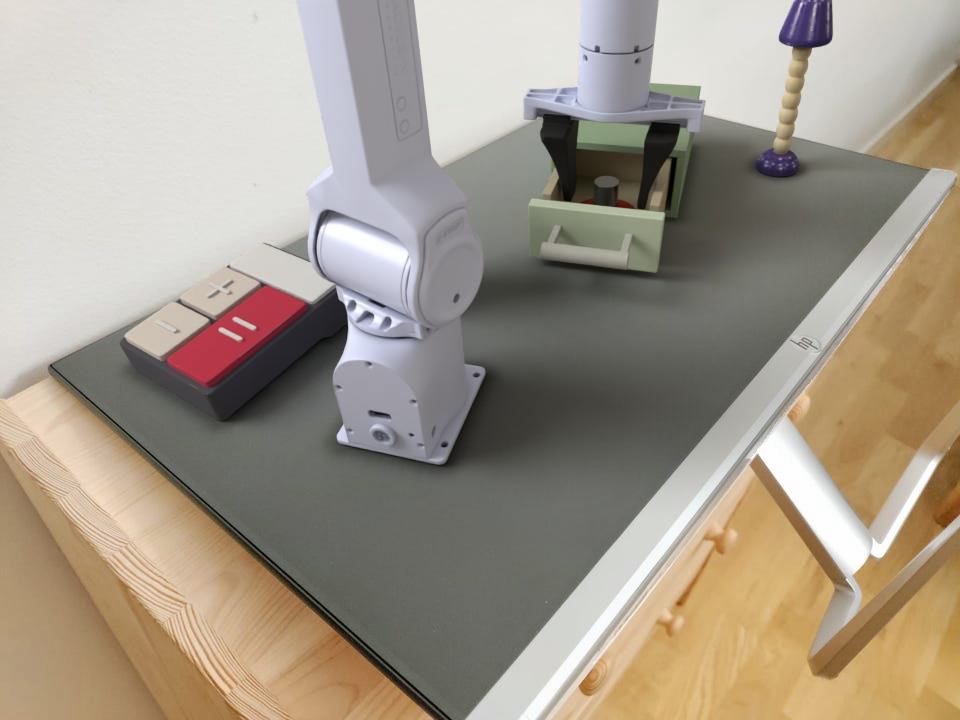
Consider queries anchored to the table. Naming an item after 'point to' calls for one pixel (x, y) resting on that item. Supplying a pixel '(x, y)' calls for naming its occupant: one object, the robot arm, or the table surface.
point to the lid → (607, 193)
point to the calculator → (236, 329)
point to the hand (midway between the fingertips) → (605, 199)
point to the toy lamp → (796, 77)
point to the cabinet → (633, 138)
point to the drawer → (601, 216)
